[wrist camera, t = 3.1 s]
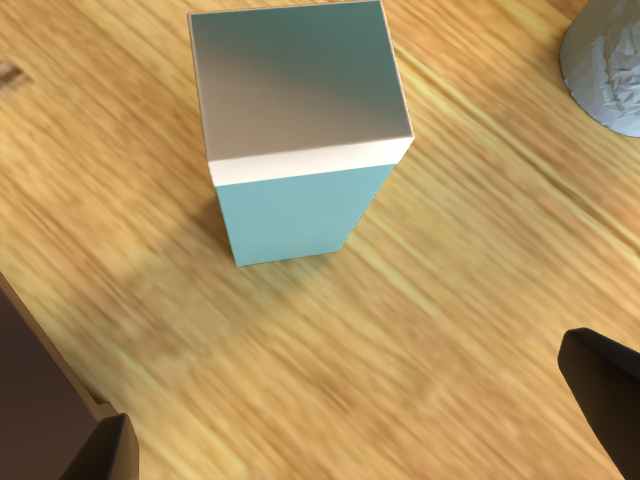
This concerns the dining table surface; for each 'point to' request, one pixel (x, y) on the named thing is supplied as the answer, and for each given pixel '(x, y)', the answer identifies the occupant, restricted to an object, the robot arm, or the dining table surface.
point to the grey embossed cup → (605, 63)
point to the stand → (38, 399)
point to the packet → (297, 121)
